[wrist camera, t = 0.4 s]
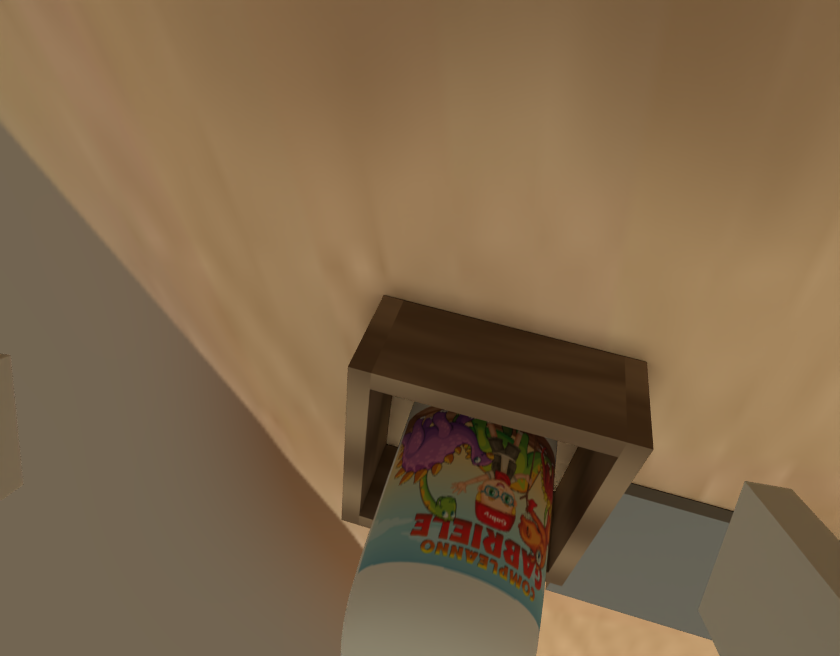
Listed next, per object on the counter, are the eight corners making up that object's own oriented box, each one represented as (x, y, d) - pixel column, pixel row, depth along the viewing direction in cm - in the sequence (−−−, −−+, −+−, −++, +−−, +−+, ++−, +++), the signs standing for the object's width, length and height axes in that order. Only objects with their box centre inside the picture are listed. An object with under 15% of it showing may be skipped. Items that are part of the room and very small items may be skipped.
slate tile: (608, 477, 31) (608, 489, 31) (853, 545, 30) (858, 559, 29) (546, 578, 40) (545, 589, 39) (733, 635, 38) (735, 647, 38)
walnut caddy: (383, 295, 27) (347, 366, 23) (646, 362, 25) (653, 449, 22) (369, 449, 35) (341, 519, 31) (566, 505, 34) (561, 586, 30)
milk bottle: (537, 472, 32) (479, 990, 18) (410, 436, 33) (253, 902, 19) (578, 383, 27) (544, 1011, 13) (425, 343, 28) (226, 888, 13)
